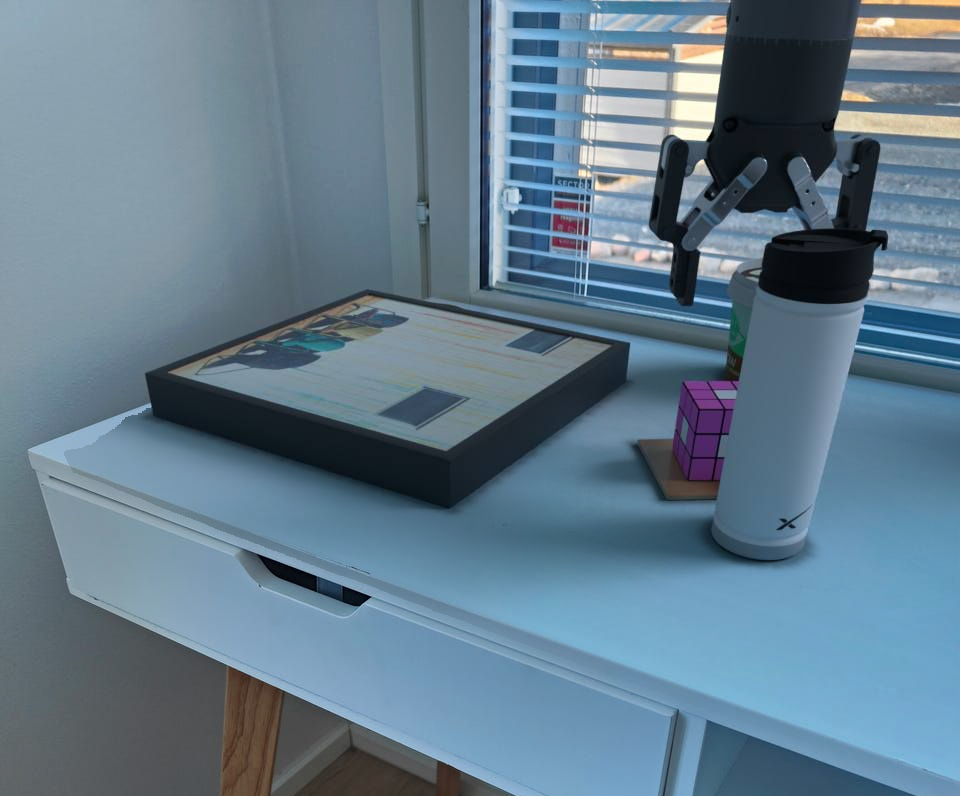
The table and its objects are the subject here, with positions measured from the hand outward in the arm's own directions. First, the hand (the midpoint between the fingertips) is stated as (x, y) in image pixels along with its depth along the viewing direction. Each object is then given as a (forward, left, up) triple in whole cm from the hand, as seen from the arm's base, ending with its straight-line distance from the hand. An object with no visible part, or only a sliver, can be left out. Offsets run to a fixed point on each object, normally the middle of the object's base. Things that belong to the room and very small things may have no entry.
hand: (743, 302), depth 66 cm
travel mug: (0, +11, -13) cm, 17 cm away
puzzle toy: (0, +1, -12) cm, 12 cm away
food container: (-8, -18, -13) cm, 23 cm away
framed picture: (+24, -15, -13) cm, 31 cm away
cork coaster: (0, 0, -13) cm, 13 cm away
